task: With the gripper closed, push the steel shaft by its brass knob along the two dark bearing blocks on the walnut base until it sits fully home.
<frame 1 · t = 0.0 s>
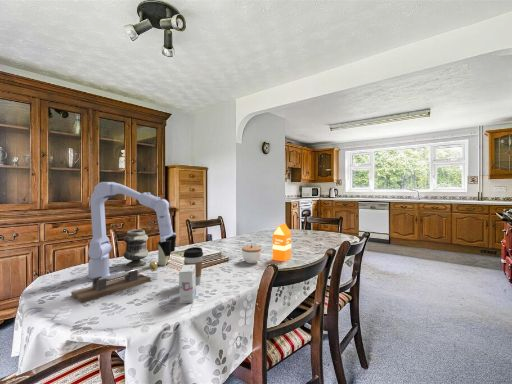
hand: (170, 253, 125), 11 cm above the table, tool pointing down, fingers open, 7 cm apart
lidded jar: (251, 262, 149), on the table
orange juice: (281, 258, 156), on the table
apothecary jar: (136, 264, 143), on the table
shaft: (129, 272, 116), point 5 cm above the table, slide at 8.0 cm
ink box: (187, 298, 102), on the table
shaft frame: (117, 286, 112), on the table
coffee cup: (193, 283, 117), on the table
skincare box: (164, 264, 144), on the table
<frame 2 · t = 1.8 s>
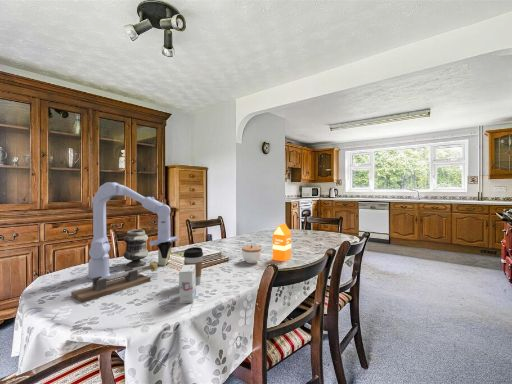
hand: (164, 257, 130), 7 cm above the table, tool pointing down, fingers closed
nothing on the table moved.
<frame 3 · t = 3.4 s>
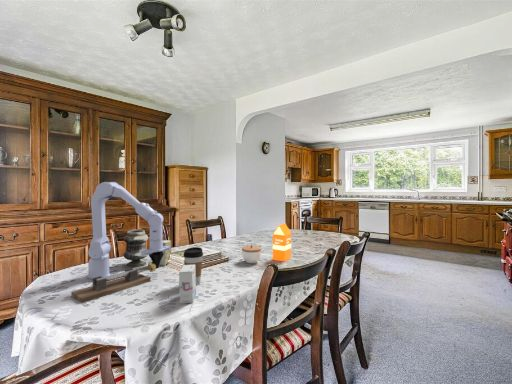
hand: (156, 267, 127), 3 cm above the table, tool pointing down, fingers closed
shaft: (127, 273, 115), point 4 cm above the table, slide at 7.1 cm, touching gripper
everything else where it was.
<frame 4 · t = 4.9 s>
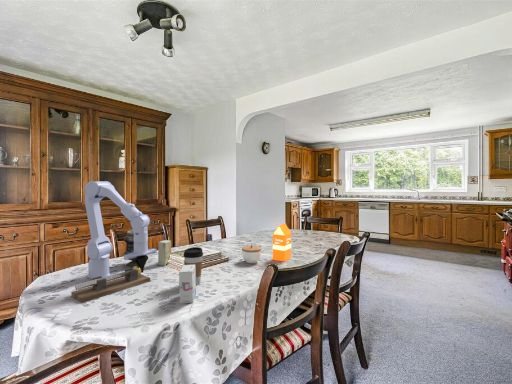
hand: (141, 272, 120), 3 cm above the table, tool pointing down, fingers closed
shaft: (110, 278, 110), point 4 cm above the table, slide at -0.1 cm, touching gripper
everything else where it was.
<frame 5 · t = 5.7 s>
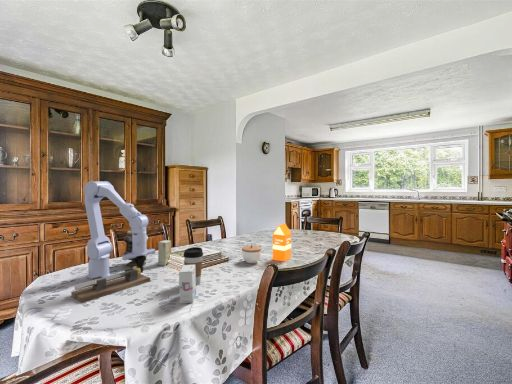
hand: (139, 272, 120), 3 cm above the table, tool pointing down, fingers closed
nothing on the table moved.
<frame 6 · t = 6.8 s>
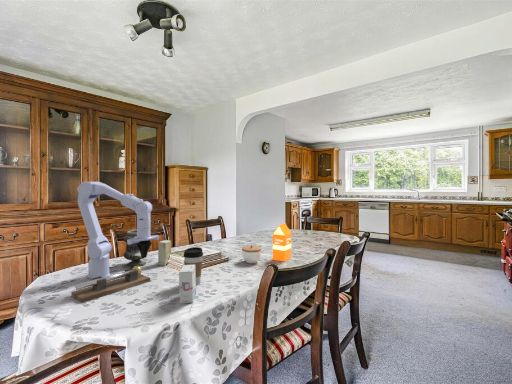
hand: (143, 257, 123), 9 cm above the table, tool pointing down, fingers closed
shaft: (110, 278, 110), point 4 cm above the table, slide at 0.0 cm
everything else where it was.
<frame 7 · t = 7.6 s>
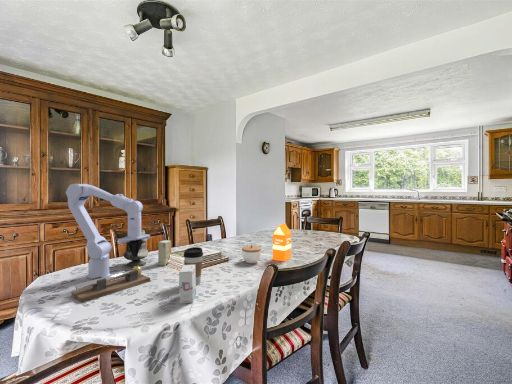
hand: (134, 256, 124), 9 cm above the table, tool pointing down, fingers closed
nothing on the table moved.
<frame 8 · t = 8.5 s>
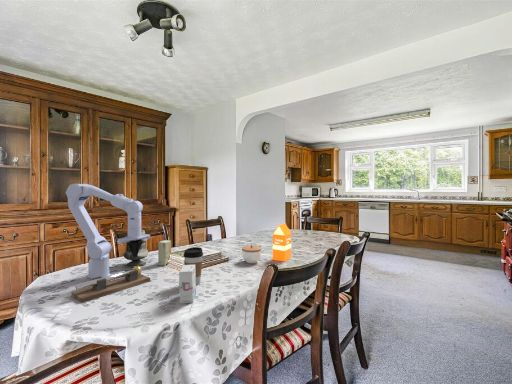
hand: (134, 256, 124), 9 cm above the table, tool pointing down, fingers closed
nothing on the table moved.
at the end: shaft slide at 0.0 cm; the gripper is holding nothing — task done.
